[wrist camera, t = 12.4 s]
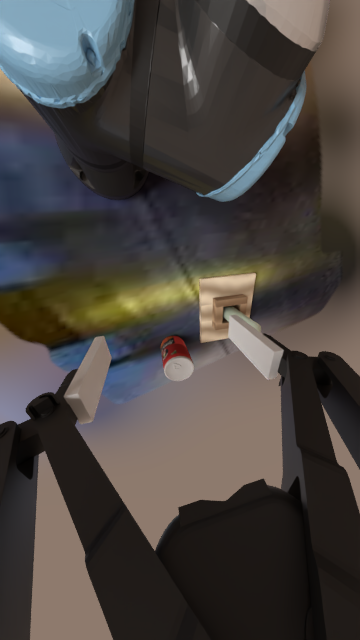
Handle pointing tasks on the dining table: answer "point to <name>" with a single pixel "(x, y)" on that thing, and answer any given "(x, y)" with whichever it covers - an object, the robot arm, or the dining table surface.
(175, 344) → the canned food
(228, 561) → the robot arm
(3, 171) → the dining table surface
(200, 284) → the socket board
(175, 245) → the dining table surface
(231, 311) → the peg
